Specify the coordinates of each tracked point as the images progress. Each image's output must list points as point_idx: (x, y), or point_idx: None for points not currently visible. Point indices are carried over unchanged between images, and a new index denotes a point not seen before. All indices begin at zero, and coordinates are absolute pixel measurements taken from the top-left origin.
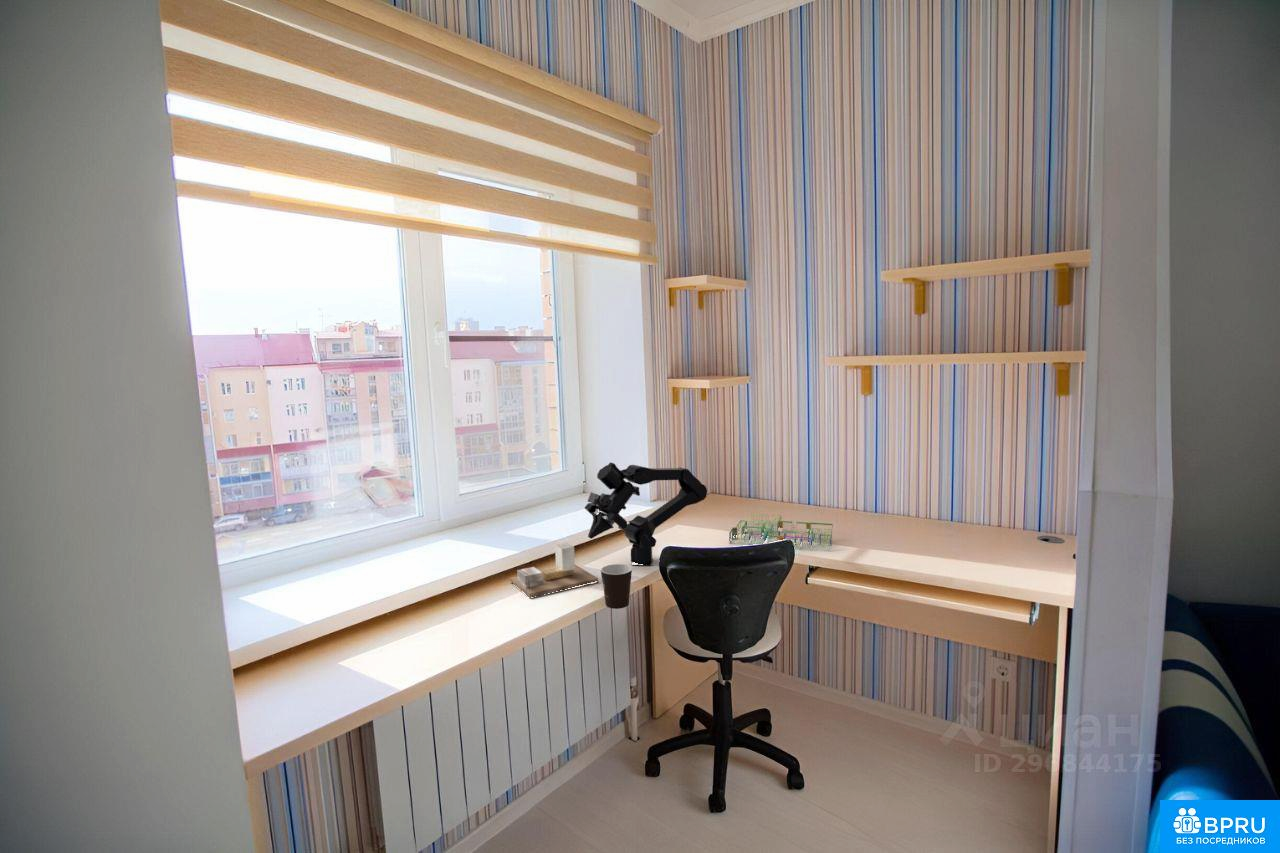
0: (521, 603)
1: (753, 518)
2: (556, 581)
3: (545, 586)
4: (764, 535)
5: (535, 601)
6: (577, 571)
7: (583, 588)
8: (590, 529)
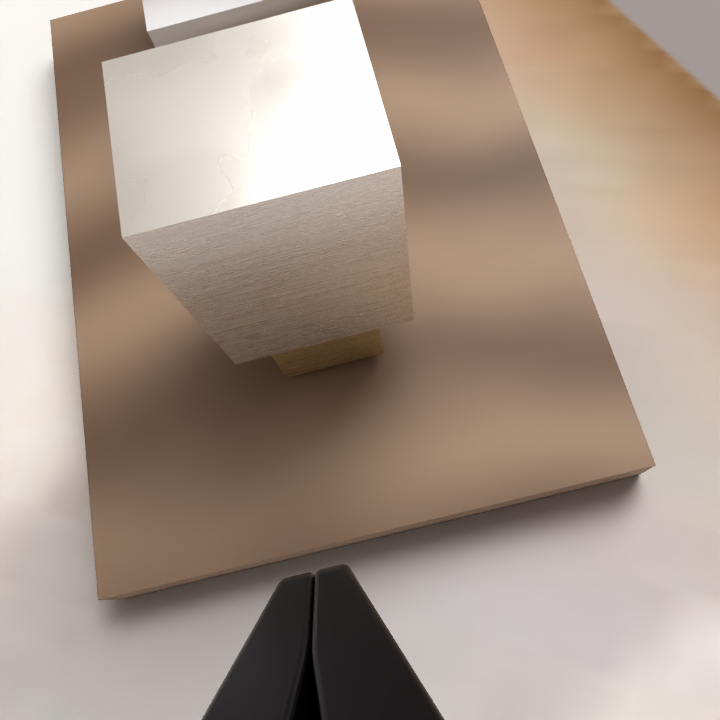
0: (25, 3)
1: None
2: None
3: None
4: None
5: (9, 76)
6: (390, 442)
7: (63, 431)
8: (401, 684)
